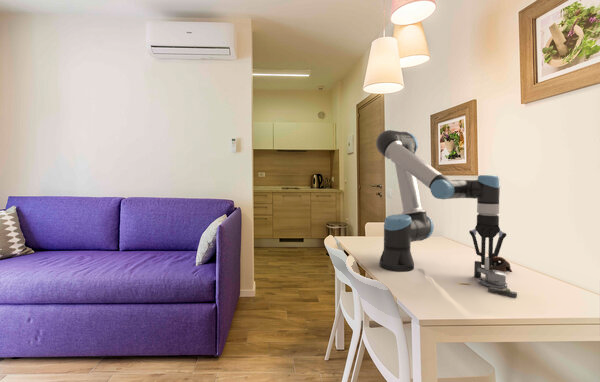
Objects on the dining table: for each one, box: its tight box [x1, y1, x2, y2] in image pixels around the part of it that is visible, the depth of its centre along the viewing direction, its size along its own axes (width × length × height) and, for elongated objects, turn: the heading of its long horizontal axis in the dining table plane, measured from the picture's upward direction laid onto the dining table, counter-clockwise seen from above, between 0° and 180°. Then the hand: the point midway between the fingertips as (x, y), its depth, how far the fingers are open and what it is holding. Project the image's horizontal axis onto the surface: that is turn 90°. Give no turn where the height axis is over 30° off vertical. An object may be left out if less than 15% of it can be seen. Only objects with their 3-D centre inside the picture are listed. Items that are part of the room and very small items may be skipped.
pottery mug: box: [489, 256, 513, 273], centre depth 139 cm, size 12×10×8 cm
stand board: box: [457, 282, 518, 299], centre depth 119 cm, size 20×19×4 cm
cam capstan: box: [473, 260, 508, 290], centre depth 122 cm, size 14×9×6 cm, turn 5°
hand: (486, 273), depth 128 cm, fingers closed
